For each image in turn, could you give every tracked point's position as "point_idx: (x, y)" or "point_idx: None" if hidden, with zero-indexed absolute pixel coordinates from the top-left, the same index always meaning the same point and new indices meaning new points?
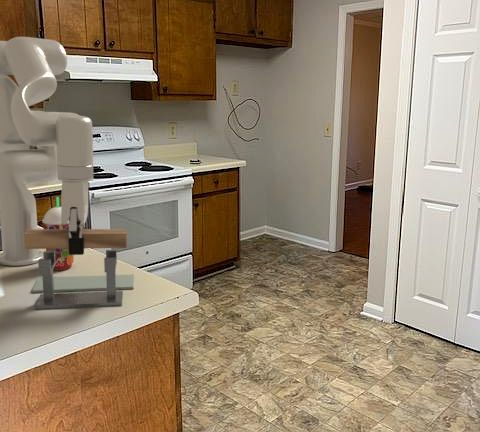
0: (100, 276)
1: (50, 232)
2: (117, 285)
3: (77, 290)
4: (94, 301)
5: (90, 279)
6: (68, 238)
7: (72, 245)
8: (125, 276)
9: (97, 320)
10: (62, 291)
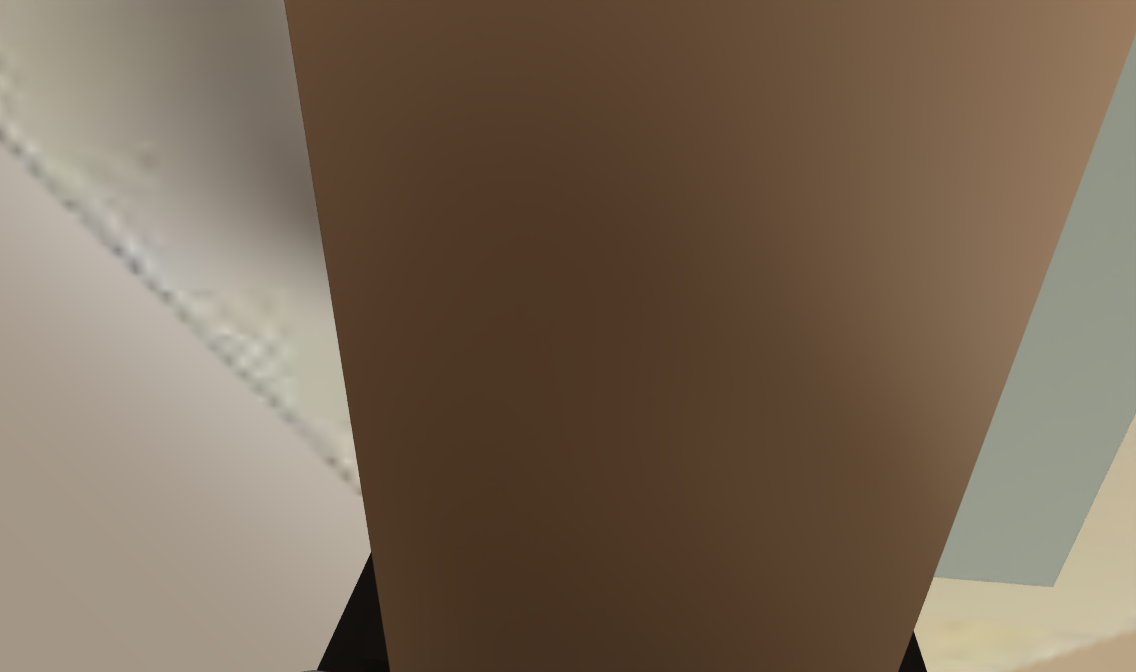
0: (1128, 374)
1: (496, 335)
2: None
3: None
4: None
5: (1084, 296)
6: (366, 645)
7: (362, 584)
8: (1033, 538)
9: (280, 340)
10: None
